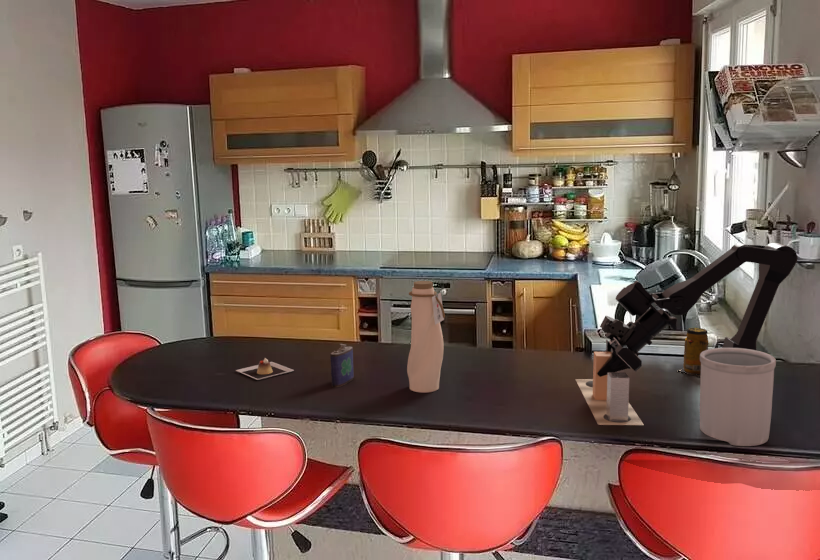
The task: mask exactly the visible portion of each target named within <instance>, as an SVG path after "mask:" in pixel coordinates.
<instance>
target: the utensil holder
mask: <svg viewBox="0 0 820 560" xmlns="http://www.w3.org/2000/svg"><path fill="white" fill-rule="evenodd" d="M700 362H701V377H700V382H699V383H700V388H699V389H700V391H699V429H700V431H701V432H702V433H704V434H705V435H707V436H708V437H711V438H713V439H715V440H716V439H717V440H719V441H724V442H727V443H728V444H729V445H730V446H734V447H735V446H736V447H753V446H754V447H755V446H760V445H763V444H765V443H767V442H768V440H769V438H770V437H769V436H770V431H771V421H772V420H771V419H772V410H773V409H772V407H773V395H774V394H773V393H774V392H773V391H774V379H775V378H774V377H775V368H776V364H777V360H776V357H774V356H773V355H772V354H769V353H767V352H763V351H759V350H757V349H756V350H750V349H743V348H722V347H715V348H708V350H705V351H703V352H701V354H700Z"/></svg>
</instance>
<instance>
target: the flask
mask: <svg viewBox="0 0 820 560" xmlns="http://www.w3.org/2000/svg"><path fill="white" fill-rule="evenodd" d="M339 345H340V347H339V348H338V349H337V350H333V351H332V352H330V357H329V358H330V375H331V387H332V388H340V387H342V386H345V385H347V384H348V383H350V382H351V381H353V380H354V377H355V376H354V375H355V374H354V349H353V346H347V344H343V343H339Z"/></svg>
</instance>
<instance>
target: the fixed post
mask: <svg viewBox="0 0 820 560" xmlns="http://www.w3.org/2000/svg"><path fill="white" fill-rule="evenodd" d="M629 400H630V376H629V375H628V373H626V372H614V373H608V376H607V406H606V415H607V417H608V419H609V420H610V421H628V403H630V402H629Z"/></svg>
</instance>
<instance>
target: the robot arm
mask: <svg viewBox="0 0 820 560" xmlns="http://www.w3.org/2000/svg"><path fill="white" fill-rule="evenodd" d="M798 258H799V257H798V254H797V252H796V250H795V249H794V248H793V247H791V246H789V245H785V244H782V243H779V242H771V243H770V242H769V243H768V244H766V245H762V244H761V245H760V244H745V243H742V242H741V243H740V242H739V243H735V244H734V245H732V246H731V248H730V249H729V250H727V251H726V252H724V253H722V255H720V256H719V257H718V258H716V259H715V260H713V261H711V263H710V264H709V263H708V265H707V266H705V267H704V268H702V269H701V270H699V272H697V273H696V274H694V275H693V276H692V277H691V278H688V279H686V280H683V281H680V282H677V283H675V284H674V285H672V286H670V287H668V288H666V289H664V291H662V292H661V291H660V292H653V293H650V292H648V290H646V289H645V287H644V286H643V284H642V283H641V282H640V281H638V280H635V281H634V282H632V283H630V284H628V285H627V286H624V287H623V288H622V289H620V291H619V292H618V293H617V294H616V295H615V300H616V302H617V303H618V304H620V305H621V307H623V308H624V310H626V311H627V313H629V314H630V316H632V317H634V316H638V319H636V320H635V321H629V322H628V323H627V324H626V323H624V322H623V321H622V320H619V319H617V318H613V317H611V316H608V315H605V316H604V318H603V319H602V322H601V323H600V325H599V327H600V328H601V331H603V332H604V333H605V334H604V336H605V337H606V338H607V339H606V340H605V350H604V352H611V356H610V358H609V359H608V360H607V362H606V363H605V364H604V365H603V366H602V368H601V369H600V370H599V371H598V373H597V374H598V375H599V376H600V377H601V376H604V375H608V373H618V372H620V371H625V370H630V369H632V370H633V371H634V372H635V373H636V372H637V371H638V370H639V369H640V368H642V364H643V363H642V359H641V357H639V355H640V353H639V352H640V351H641V350H642V349H643V348H644V347H645V346H647V345H648V346H651V345H652V344H653V342H652V340H653V339H654V338H655V337H656V336H658V335H659V334H660V333H661V332H662V331H663V330H665V328H667V327H668V326H669V327H670V328H672V330H674V331H677V328H678V327H677V322H678V318H677V317H675V316H684V315H685V314H687V313H688V312H689V311H690V310H691V309H692V308H693V307H694V306H695V305H696V304H697V303H698V302H699V300H700V298H701V297H702V295H704V294H705V292H707V291H708V290H709V289H711V288H712V287H713V286H715V285H716V284H717V283H719V282H720V281H721V280H723V279H724V278H726V277H727V276H728V275H729V274H731V273H733V271H735V270H737V269H738V268H739V267H741V266H742V265H744V264H745V263H753V264H758V278H757V279H758V280H757V282H756V285H755V286H754V290H753V292H752V294H751V297H750V299H749V302H748V304H747V306H746V309H745V311H744V314H743V317H742V319H741V322H740V324H739V326H738V330H737V332H736V333H735V335H733V336H732V337H731V338H729V337H727V336H726V337H724V340H723V345H722V346H721V348H743V349H750V350H756V351H757V341H758V337H759V335H760V333H761V331H762V328H763V325H764V324H765V322H766V321H765V320H766V318H767V316H768V314H769V311H770V308H771V305H772V303H773V301H774V298H775V295H776V294H777V291H778V288H779V287H780V284H782V282H784V281H785V280H786V278H788V276H790V274H791V272H792V270H793V269H794V268H795V266H796V265H797V262H798ZM653 303H654V304H655V305H656V306H657V307H658V308H659V309H656V307H655V306H654V305H652V304H653ZM666 310H667V312H669V313H670V314H673V315H674V316H670V315H669V314H668V313H667V312H666ZM608 339H609V341H608Z"/></svg>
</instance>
